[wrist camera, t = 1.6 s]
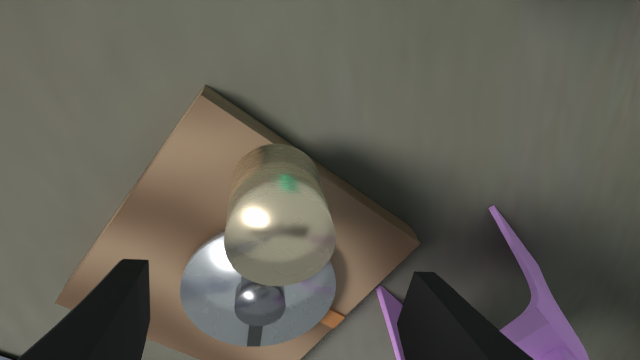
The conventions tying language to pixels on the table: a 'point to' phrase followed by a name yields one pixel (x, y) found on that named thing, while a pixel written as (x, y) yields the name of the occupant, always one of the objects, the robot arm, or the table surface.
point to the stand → (210, 217)
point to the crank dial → (265, 254)
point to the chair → (528, 328)
